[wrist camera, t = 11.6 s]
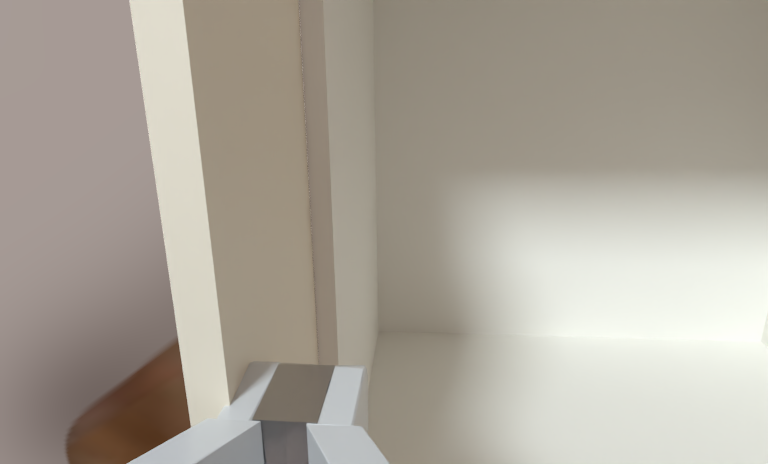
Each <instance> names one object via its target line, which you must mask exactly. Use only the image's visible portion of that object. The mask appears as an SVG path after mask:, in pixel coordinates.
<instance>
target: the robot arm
mask: <svg viewBox="0 0 768 464" xmlns="http://www.w3.org/2000/svg"><path fill="white" fill-rule="evenodd" d="M127 464H390V463H389V462H388V460H387V459H386V458H385V456H384V455H383V454H382V452H381V451H380V449H379V448H378V447H377V445H376V444H375V443H374V441H373V440H372V439H371V437H370V436H369V435H368V374H367V368H366V367H365V365H337V366H335V365H314V364H298V363H280V362H261V361H253V362H251V363H249V366H248V368H247V370H246V372H245V374H244V376H243V379H242V381H241V383H240V385H239V387H238V389H237V391H236V394H235V396H234V398H233V400H232V402H231V404H230V406H224V407H223V408H222V410H221V412H220V413H219V415H218V417H217V419H211V418H207V419H206V420H204V421H202V422H200V423H198V424H197V425H195V426H193V427H191V428H190V429H188V430H186V431H184V432H182V433H181V434H179V435H177V436H175V437H174V438H172V439H170V440H168V441H166V442H165V443H163V444H161V445H159V446H158V447H156V448H154V449H152V450H150V451H149V452H147V453H145V454H143V455H141V456H140V457H138V458H136V459H134V460H133V461H131V462H129V463H127Z"/></svg>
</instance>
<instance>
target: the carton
mask: <svg viewBox="0 0 768 464" xmlns="http://www.w3.org/2000/svg"><path fill="white" fill-rule="evenodd" d="M299 10H300V28H301V46H302V64H303V82H304V100H305V118H306V136H307V154H308V172H309V191H310V209H311V227H312V245H313V263H314V281H315V299H316V317H317V335H318V353H319V365H335V366H337V365H365V367H366V368H367V374H368V435H369V436H370V437H371V439H372V440H373V441H374V443H375V444H376V445H377V447H378V448H379V449H380V451H381V452H382V454H383V455H384V456H385V458H386V459H387V460H388V462H389V463H390V464H768V0H299Z"/></svg>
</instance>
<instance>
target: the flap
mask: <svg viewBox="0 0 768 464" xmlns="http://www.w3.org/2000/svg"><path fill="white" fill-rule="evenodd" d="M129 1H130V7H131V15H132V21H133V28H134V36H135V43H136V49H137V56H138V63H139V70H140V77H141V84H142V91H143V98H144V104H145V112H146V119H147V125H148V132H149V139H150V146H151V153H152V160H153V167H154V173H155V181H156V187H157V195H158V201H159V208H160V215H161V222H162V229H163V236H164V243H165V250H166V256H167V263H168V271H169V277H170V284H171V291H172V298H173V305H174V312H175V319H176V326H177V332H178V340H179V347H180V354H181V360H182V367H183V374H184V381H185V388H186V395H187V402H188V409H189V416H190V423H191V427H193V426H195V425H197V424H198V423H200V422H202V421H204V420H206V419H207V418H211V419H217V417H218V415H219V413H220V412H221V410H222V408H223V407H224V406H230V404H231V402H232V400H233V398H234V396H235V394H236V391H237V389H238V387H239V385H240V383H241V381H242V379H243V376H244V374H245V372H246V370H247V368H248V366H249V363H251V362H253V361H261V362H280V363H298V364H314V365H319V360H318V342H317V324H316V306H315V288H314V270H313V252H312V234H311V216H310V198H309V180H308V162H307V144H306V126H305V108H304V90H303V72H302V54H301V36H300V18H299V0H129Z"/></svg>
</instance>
